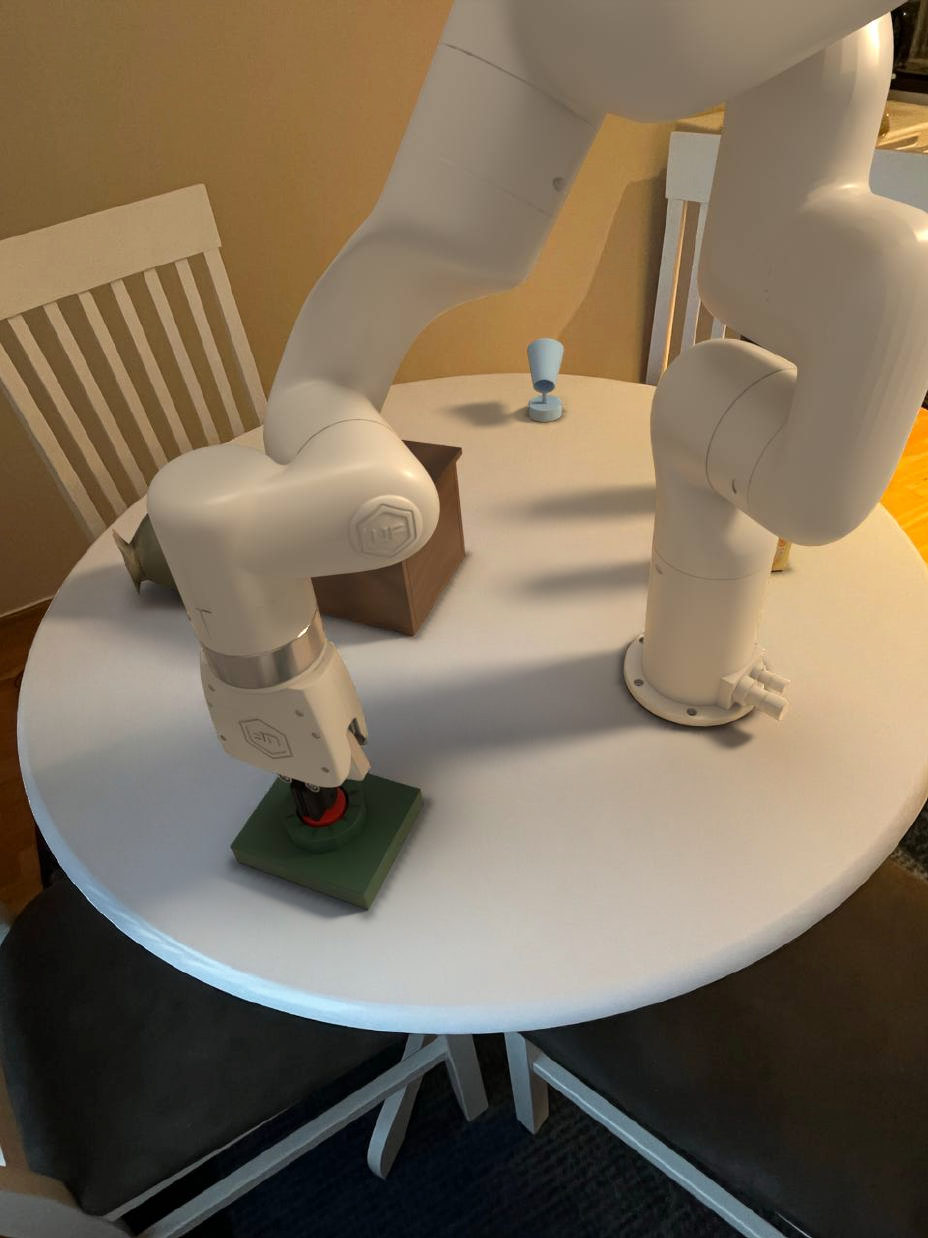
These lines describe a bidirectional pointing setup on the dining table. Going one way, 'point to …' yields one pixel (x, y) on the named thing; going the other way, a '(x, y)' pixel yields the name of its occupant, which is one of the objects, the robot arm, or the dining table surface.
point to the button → (330, 813)
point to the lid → (435, 458)
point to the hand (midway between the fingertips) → (319, 804)
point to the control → (332, 838)
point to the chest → (401, 576)
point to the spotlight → (545, 378)
